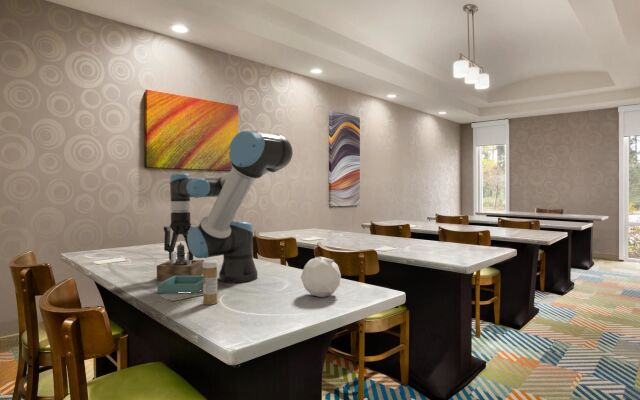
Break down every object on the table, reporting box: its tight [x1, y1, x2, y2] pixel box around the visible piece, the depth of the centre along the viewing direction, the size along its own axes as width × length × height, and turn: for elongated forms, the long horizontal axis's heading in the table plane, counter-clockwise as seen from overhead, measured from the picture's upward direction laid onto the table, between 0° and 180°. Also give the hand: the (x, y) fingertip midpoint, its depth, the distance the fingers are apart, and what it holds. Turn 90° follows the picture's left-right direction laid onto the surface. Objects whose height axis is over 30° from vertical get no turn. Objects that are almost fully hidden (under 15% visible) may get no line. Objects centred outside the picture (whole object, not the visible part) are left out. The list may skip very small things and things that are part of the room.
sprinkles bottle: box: [202, 259, 219, 306], centre depth 128 cm, size 5×5×14 cm
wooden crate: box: [156, 259, 205, 282], centre depth 166 cm, size 14×14×6 cm
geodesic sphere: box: [300, 256, 342, 298], centre depth 137 cm, size 14×14×14 cm
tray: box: [157, 275, 203, 294], centre depth 148 cm, size 14×14×3 cm
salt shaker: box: [173, 241, 187, 265], centre depth 166 cm, size 6×6×12 cm
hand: (181, 268), depth 166 cm, fingers closed on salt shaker, 6 cm apart
